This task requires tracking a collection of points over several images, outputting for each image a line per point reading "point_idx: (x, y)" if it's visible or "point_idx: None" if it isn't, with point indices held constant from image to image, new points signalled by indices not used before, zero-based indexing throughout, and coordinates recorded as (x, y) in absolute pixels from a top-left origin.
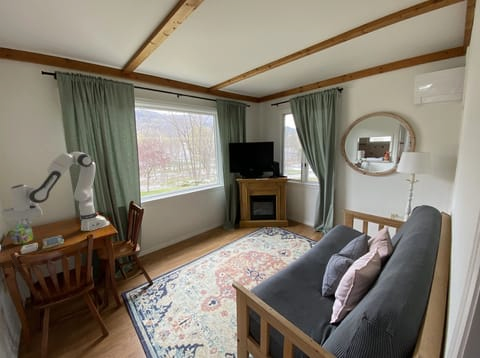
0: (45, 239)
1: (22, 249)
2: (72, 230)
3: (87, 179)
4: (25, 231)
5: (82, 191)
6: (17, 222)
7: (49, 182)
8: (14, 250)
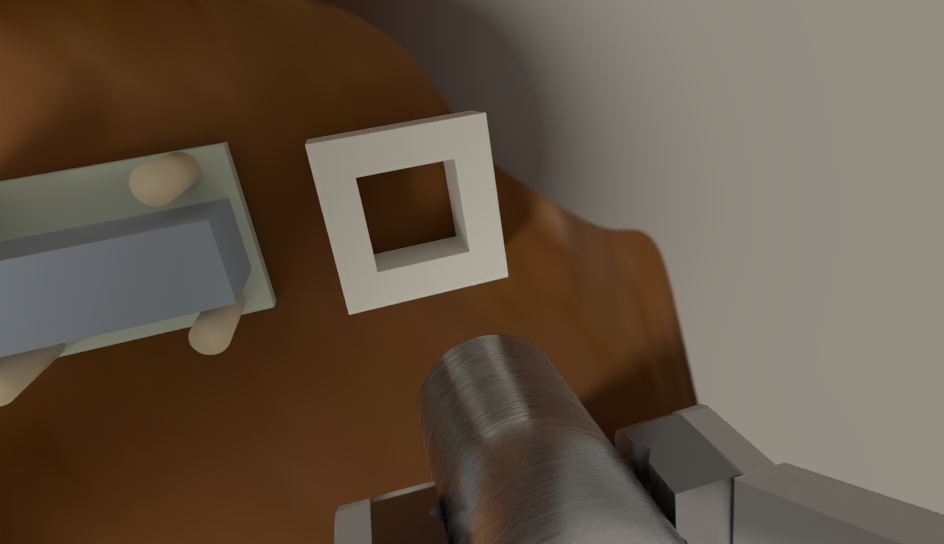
0: (180, 270)
1: (470, 133)
2: None
3: None
4: None
5: None
6: (898, 503)
7: None
8: (589, 287)
